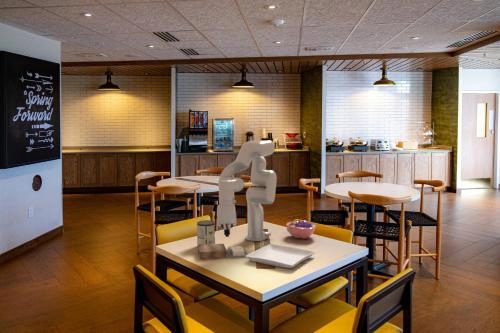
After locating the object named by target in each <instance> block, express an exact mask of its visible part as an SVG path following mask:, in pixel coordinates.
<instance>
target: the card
mask: <svg viewBox="0 0 500 333" xmlns="http://www.w3.org/2000/svg"><path fill="white" fill-rule="evenodd" d="M230 249H231V252H232V255H233V256H244V250H243V249H244V248H243V246H242V245H240V246H230Z"/></svg>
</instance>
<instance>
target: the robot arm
mask: <svg viewBox="0 0 500 333" xmlns="http://www.w3.org/2000/svg"><path fill="white" fill-rule="evenodd" d="M275 148H276V147H275V143H274V142H273V141H272V140H262V139H261V140H259V139H257V140H256V139H253V140H249V141H245V142H244V143H243V144H242V145H241V147H240V149H239V152H238V153H237V156H236V159H235V160H234V161H233V162H231V163H229V164H228V165H227V166H226V167H225V168H224V169H223V170H222V171H221V174H220V175H219V178H218V181H217V186H218V205H217V208H216V226H217V227H221V228H222V229H223V235H224V236H225V238H229V237H230V235H231V229H232V228H233V227H235V226H237V224H238V223H237V210H236V206H235V204H236V203H237V200H235V199H234V193H237V192H240V191H242V190H243V189H244V187H245V183H244V180H243V179H242V178H240V177H234V176H233V175H235V174H237V173H240V172H243V171H245V170H247V169H249V168H250V165H251V170H250V171H251V173H250V183H251V184H252V185H253V186H254V185H255V187H249V188H247V190H246V192H245V197H246V203H247V235H245V237H244V239H245V240H246V241H249V242H261V241H262V242H263V241H265V240H266V239H267V237H266V236H268V237H270V236H272V232H268V231H264V207H263V206H262V204H263V205H272V204H273V203H274V202H275V198H276V188H277V181H278V180H277V174H276V172H275V171H274V170H270V169H268V170H267V168H266V167H267V160H266V158H265V157H268V156H271V155H273V153H274V151H275V150H276V149H275ZM256 186H261V187H256ZM262 186H264V187H262ZM226 225H227V226H226Z"/></svg>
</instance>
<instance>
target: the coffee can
mask: <svg viewBox="0 0 500 333" xmlns="http://www.w3.org/2000/svg"><path fill="white" fill-rule="evenodd" d="M215 224H216V222H215V221H213V220H211V219H210V220H199V221H197V222H196V235H197V236H196V237H197V238H196V239H197V240H196V242H197V244H196V245H197V246H196V247H197V248H198V245H204V244H216V230H215V229H216V228H215V226H216V225H215Z"/></svg>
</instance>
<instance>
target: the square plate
mask: <svg viewBox="0 0 500 333" xmlns="http://www.w3.org/2000/svg"><path fill="white" fill-rule="evenodd" d="M315 253H316V252H315V251H312V250H308V249H302V248H298V247H292V246H286V245H281V244H273V243H269V244H268V245H264V246H263V247H260V248H259V249H256V250H254V251H252V252H250V253H248V255H246V256H245V257H247V258H246V259H247V260H250V261H251V262H252V261H253V262H256V263H259V264H265V265H269V266H275V267H279V268H285V269H293V268H294V267H296V266H297V265H298V264H300V263H302V262H304V261H306V260H307V259H310V258H311V257H312V256H313V255H314V254H315Z"/></svg>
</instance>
